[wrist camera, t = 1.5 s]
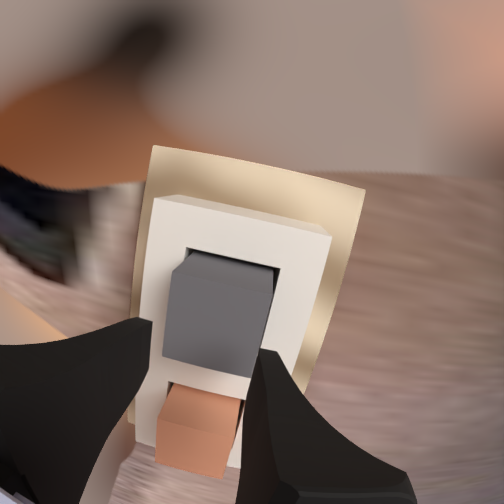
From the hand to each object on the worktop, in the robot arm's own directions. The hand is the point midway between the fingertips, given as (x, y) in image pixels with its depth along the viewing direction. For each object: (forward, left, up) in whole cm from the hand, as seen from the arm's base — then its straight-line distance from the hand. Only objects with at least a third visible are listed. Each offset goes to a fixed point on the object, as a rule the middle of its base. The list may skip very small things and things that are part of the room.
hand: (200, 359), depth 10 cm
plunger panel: (-4, +1, -10) cm, 11 cm away
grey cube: (0, 0, -6) cm, 6 cm away
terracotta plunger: (-8, +2, -6) cm, 10 cm away
